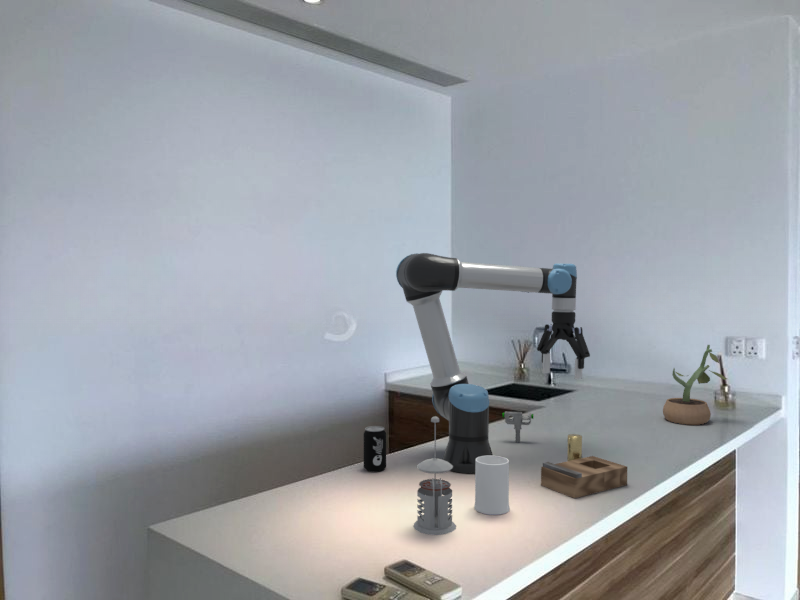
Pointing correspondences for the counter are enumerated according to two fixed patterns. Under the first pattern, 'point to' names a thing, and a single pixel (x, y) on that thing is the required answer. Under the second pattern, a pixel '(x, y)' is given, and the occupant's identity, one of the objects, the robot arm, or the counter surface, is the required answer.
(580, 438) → the brass cylinder
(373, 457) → the beverage can
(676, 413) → the potted plant
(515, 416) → the mechanical component
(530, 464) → the counter surface
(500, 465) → the mug
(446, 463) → the french press
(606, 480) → the jig
